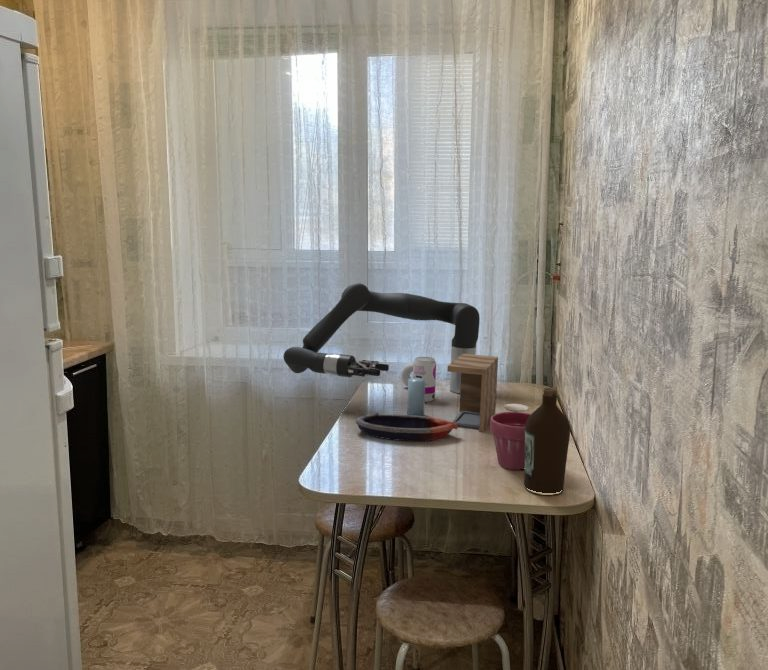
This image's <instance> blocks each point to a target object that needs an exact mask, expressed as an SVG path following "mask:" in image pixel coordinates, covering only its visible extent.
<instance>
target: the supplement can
mask: <svg viewBox="0 0 768 670" xmlns="http://www.w3.org/2000/svg"><path fill="white" fill-rule="evenodd" d="M412 363H413V372H412V378H422V379H425V403H428V401H430V402H433V401H434V400H435V399H436V382H437V381H436V379H437V377H436V376H437V375H436V374H437V361H436V359H435V358H434V357H431V356H430V357H429V356H417V357H415V358H414V361H413V362H412Z"/></svg>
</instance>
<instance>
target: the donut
mask: <svg viewBox="0 0 768 670" xmlns="http://www.w3.org/2000/svg"><path fill="white" fill-rule="evenodd" d="M411 373H413V362H410V363H407V364H406V365H405V366H404V367H403V368H402V370H401V373H400V378H401V381H402V382H403V384H404V385H405V386H406V387H408V379H410V378H411V376H410V374H411Z"/></svg>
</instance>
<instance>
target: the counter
mask: <svg viewBox="0 0 768 670" xmlns="http://www.w3.org/2000/svg"><path fill="white" fill-rule="evenodd" d="M498 368H499V356H494V355H482V354H476V355H472V354H462V355H460V356H459V357H458V358H457V359H456V360H454V361H453V362H452V363H451V362H450V363H449V364H448V365H447V371H446V372H449V373H450V372H457V373H461V387H460V393H459V412H461V411H468V412H476V413H480V424H479V429H478V432H479V433H484V431H486V428H487V427H488V425H490V420H491V417H492V416H493V415H495V414H496V403H497V385H498V370H499V369H498Z"/></svg>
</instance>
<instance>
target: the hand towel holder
mask: <svg viewBox="0 0 768 670" xmlns="http://www.w3.org/2000/svg"><path fill="white" fill-rule="evenodd" d="M503 407H504V409H505V410H507V411H508V412H522V413H525V412H526V411H527V410H528V409H529V406H528V405H524V404H519V403H507V404H504V405H503Z"/></svg>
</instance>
